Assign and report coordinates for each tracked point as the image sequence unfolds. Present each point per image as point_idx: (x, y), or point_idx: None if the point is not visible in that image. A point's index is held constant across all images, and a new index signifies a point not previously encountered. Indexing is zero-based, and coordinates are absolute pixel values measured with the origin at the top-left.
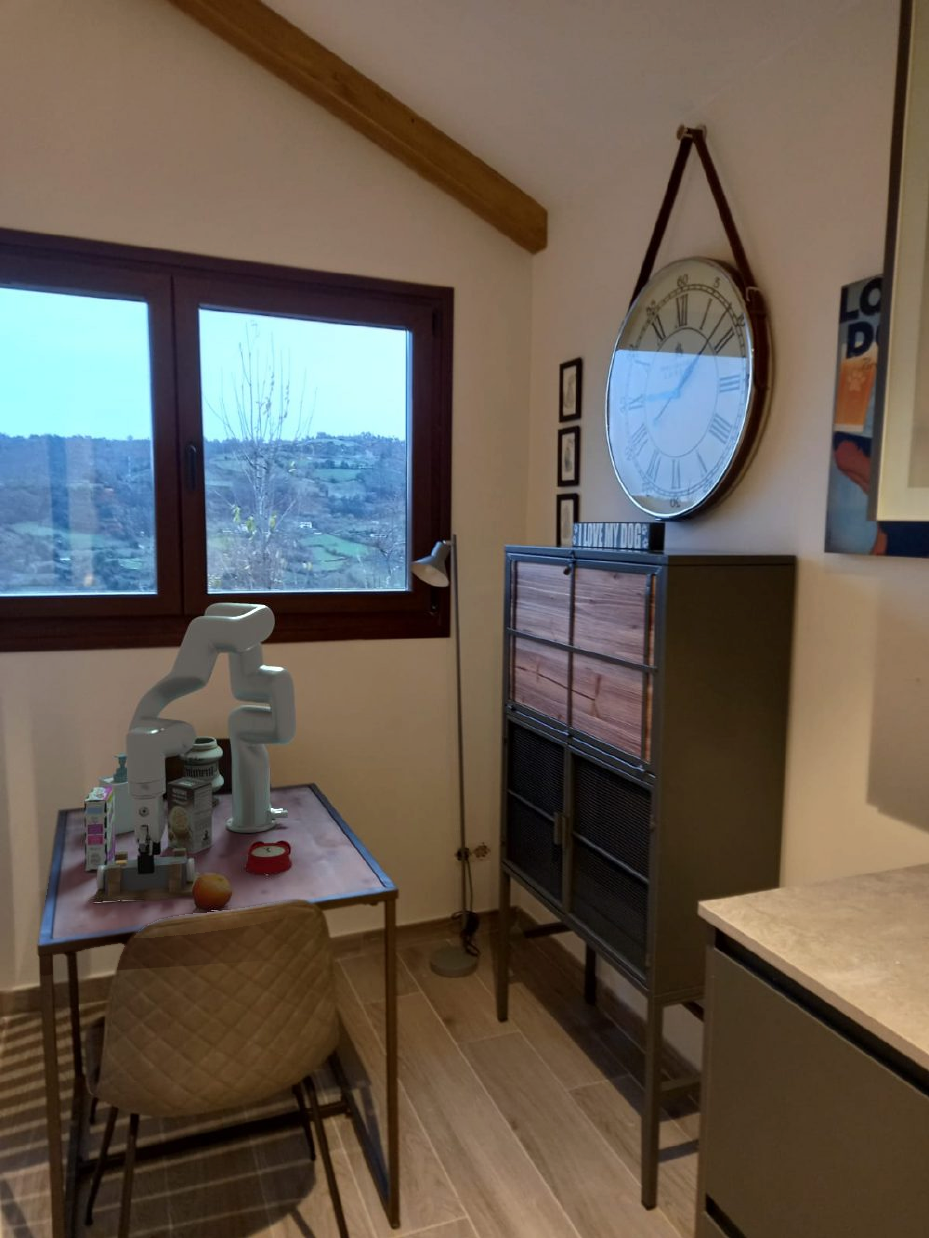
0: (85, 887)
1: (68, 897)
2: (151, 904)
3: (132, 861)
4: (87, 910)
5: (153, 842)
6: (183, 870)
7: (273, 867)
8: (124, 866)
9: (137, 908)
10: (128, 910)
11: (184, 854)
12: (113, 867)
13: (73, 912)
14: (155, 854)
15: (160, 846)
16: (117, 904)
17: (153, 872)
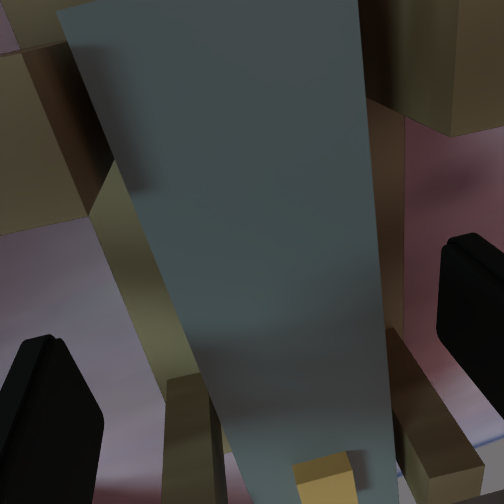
0: (225, 473)
1: None
2: (450, 148)
3: (272, 445)
4: (449, 383)
5: (53, 489)
6: None
7: None
8: (366, 449)
9: (483, 203)
10: (495, 236)
11: (40, 55)
12: (470, 492)
13: (455, 414)
14: (72, 365)
15: (22, 392)
16: (414, 307)
17: (474, 235)
